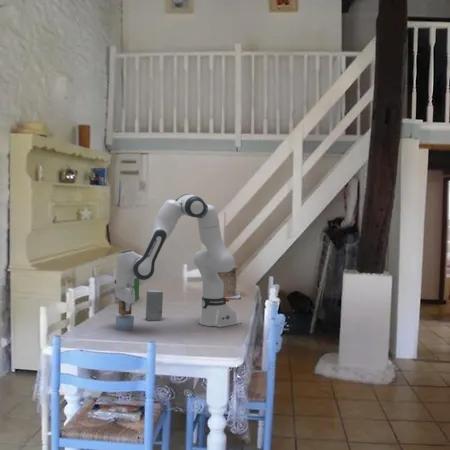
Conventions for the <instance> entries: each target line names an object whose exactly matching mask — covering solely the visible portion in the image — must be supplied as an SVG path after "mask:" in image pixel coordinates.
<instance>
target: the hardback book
mask: <svg viewBox="0 0 450 450" xmlns="http://www.w3.org/2000/svg"><path fill="white" fill-rule="evenodd" d="M132 288H134V290H135V303H136V302H138V301H139V299H140V279H138V278H137V277H136V276H135V275H134V286H132ZM132 305H133V304H131V306H132Z"/></svg>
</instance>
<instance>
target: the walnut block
mask: <svg viewBox="0 0 450 450" xmlns="http://www.w3.org/2000/svg"><path fill="white" fill-rule="evenodd" d="M125 307H126V302H124V301H120V300H119V301H118V314H119V315H132V305H131V304H130V307H129V311H125Z"/></svg>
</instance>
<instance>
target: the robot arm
mask: <svg viewBox="0 0 450 450" xmlns="http://www.w3.org/2000/svg"><path fill="white" fill-rule="evenodd" d="M182 216H187V217H192V218H196V220H197V225H198V231H199V232H198V233H199V240H200V242H201V244H202V245H204V246H205V248H206V249H201V250H198V251H197V252H196V253H195V254H194V256H193V264H194V265H195V267H196V268H197V270H198V271H199V273H200V277H201V280H202V296H201V315H200V318H199V322H198V323H199V324H200V325H203V326H207V327H218V328H223V327H228V326H234V325H240V324H241V323H242V321H241V320H240V319H238V316H237V313H236V311H235V309H233V308H232V307H231V306H230V305H228V304H227V303H230V301H231V299H229V298H225V297H223V293H224V283H223V281H222V280H221V279H220V277H219V275H218V272H229V271H231V270H232V269H233V267H234V265H235V260H236V259H235V258H234V256H233V254H231V253H230V251H228V249H227V247H226V245H225V243H224V241H223V237H222V232H221V231H222V230H221V226H220V220H219V216H218V212H217V209H216V207H215V206H214V205H212V204H207V203H206V202H205V201H204V199H202V198H201V197H199V196H197V195H195V194H190V193H187V194H183V195H180V196H179V197H178V198H177V199H167V200H165V202H164V203H163V204H162V205H161V207H160V209H159V211H158V212H157V213H156V215H155V218H154V220H153V223H152V227H151V237H150V241H149V243H148V245H147V247H146V249H145V251H144V254H143V255H142V254H139V253H136V252H135V250H132V249H126V250H123V251H120V252H119V253H118V254H117V258H116V270H117V271H116V272H117V273H116V278H115V279H114V281H113V282H114V285H115V286H114V291H115V297H116V298H117V299H119V301H124V302H126V307H125V311H129V307H130V304H132V305H135V303H136V302H135V290H134V288H132V286H134V275H135V276H136V277H137V278H138V279H139V280H142V281H145V280H149V279H151V277H153V275H154V273H155V262H156V260H157V258H158V256H159V254H160V251H161V250H162V247H163V245H164V243H166V242H167V239H168V238H169V237H170V236H171V235H172V233H173V231H174V230H175V229H176V226H177V224H178V223H179V222H178V221H179V220H180V219H181V217H182Z"/></svg>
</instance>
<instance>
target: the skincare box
mask: <svg viewBox="0 0 450 450" xmlns="http://www.w3.org/2000/svg"><path fill="white" fill-rule="evenodd" d="M163 293H164V292H163V291H162V290H160V289H159V290H158V289H157V290H156V289H152V290H151V289H148V290H146V303H145V319H146V320H147V321H148V322H151V321H162V320H163V301H164V300H163V297H164V295H163Z"/></svg>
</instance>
